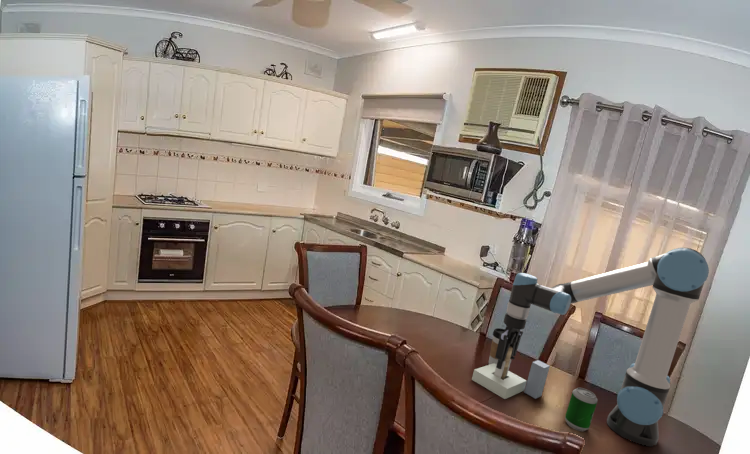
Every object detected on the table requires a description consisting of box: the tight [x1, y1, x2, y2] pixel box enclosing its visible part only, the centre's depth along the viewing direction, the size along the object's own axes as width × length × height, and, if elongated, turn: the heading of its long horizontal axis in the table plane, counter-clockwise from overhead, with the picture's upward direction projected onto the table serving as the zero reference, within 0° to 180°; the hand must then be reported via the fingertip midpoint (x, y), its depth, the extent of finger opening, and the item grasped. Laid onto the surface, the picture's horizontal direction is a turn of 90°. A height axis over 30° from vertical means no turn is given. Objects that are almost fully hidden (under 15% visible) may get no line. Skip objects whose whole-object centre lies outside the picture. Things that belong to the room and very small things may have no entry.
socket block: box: [471, 363, 528, 400], centre depth 161 cm, size 14×14×4 cm
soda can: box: [564, 387, 599, 432], centre depth 143 cm, size 8×8×12 cm
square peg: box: [523, 359, 551, 400], centre depth 159 cm, size 5×5×12 cm
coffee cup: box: [488, 327, 505, 365], centre depth 177 cm, size 8×8×15 cm
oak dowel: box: [495, 346, 513, 380], centre depth 160 cm, size 4×4×14 cm
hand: (500, 374), depth 160 cm, fingers closed on oak dowel, 3 cm apart
